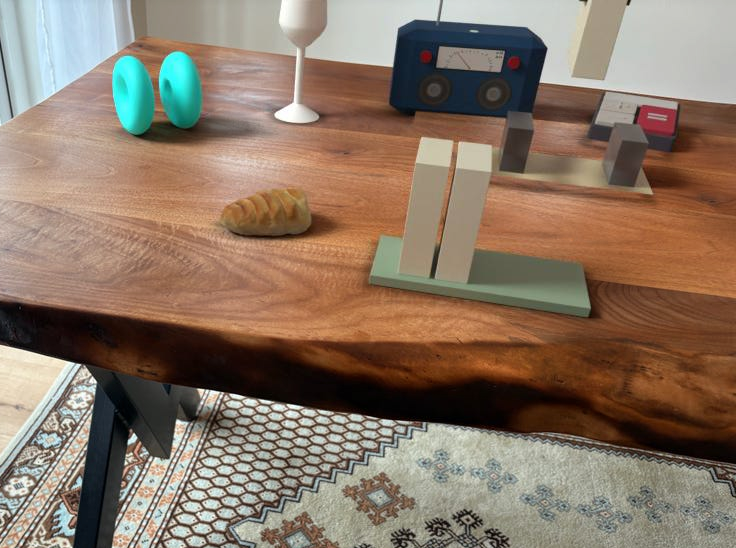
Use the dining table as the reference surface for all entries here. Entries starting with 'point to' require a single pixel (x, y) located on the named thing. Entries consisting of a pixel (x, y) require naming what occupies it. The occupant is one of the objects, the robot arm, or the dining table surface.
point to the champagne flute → (301, 48)
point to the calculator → (637, 118)
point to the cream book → (595, 38)
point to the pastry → (268, 213)
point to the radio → (465, 68)
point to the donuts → (175, 92)
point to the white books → (468, 242)
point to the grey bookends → (573, 158)
